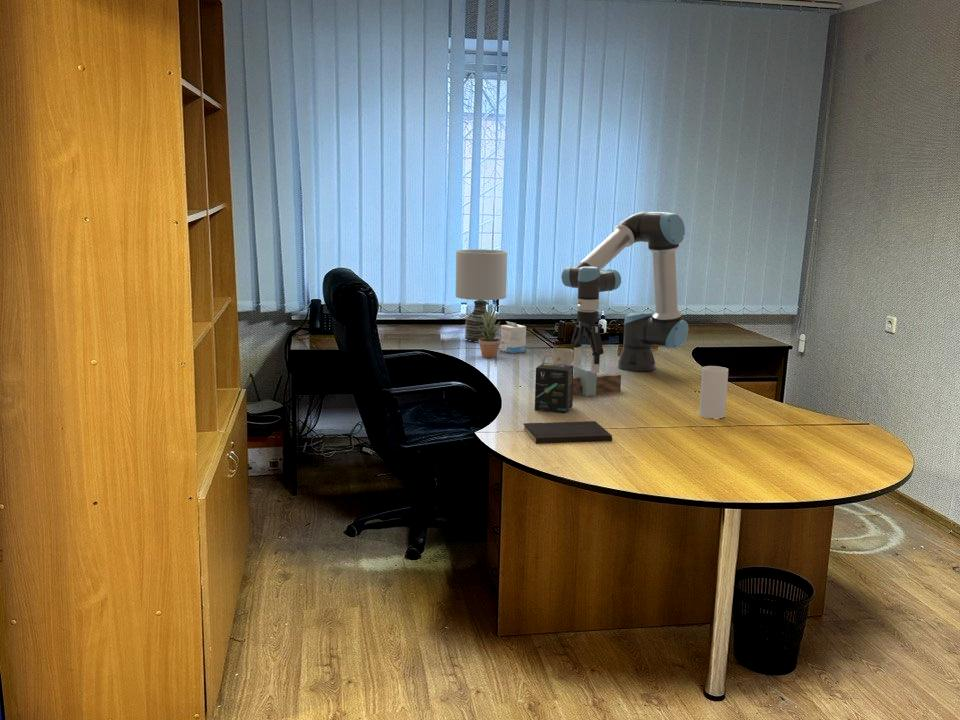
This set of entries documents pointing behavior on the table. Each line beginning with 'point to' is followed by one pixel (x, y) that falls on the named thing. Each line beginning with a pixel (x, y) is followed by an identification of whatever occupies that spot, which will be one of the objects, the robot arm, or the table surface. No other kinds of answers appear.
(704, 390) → the cup
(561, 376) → the tampon box
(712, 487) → the table surface
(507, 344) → the white box
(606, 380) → the walnut rail
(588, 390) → the blue-grey notched block
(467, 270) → the lamp
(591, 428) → the hardcover book
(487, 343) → the potted plant
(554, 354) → the mug
